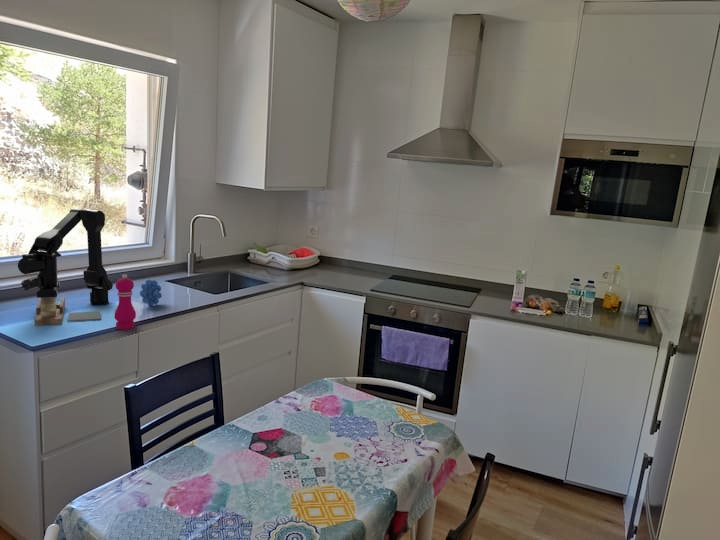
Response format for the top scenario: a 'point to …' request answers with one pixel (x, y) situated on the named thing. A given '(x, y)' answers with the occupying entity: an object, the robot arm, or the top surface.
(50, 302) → the maple block
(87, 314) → the slate pad
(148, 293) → the grapes
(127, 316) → the pepper mill
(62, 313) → the walnut trough
